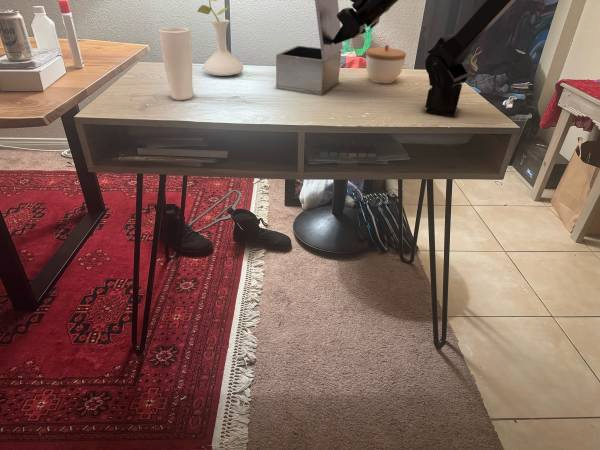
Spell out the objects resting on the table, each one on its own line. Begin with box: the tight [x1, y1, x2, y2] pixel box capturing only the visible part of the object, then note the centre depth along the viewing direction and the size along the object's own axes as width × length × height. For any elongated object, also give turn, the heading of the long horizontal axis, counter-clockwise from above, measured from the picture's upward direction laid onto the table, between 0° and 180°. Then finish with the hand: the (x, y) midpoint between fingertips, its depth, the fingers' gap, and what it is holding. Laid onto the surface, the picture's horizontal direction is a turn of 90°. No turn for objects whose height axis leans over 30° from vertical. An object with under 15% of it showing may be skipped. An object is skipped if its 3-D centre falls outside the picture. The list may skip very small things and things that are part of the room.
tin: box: [275, 45, 342, 96], centre depth 113 cm, size 13×14×8 cm
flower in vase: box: [196, 0, 245, 77], centre depth 115 cm, size 13×11×25 cm
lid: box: [314, 0, 344, 59], centre depth 105 cm, size 14×14×1 cm
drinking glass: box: [158, 26, 194, 101], centre depth 98 cm, size 7×7×15 cm
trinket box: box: [365, 44, 407, 84], centre depth 119 cm, size 11×11×9 cm
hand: (333, 42), depth 107 cm, fingers closed, pressing on lid
